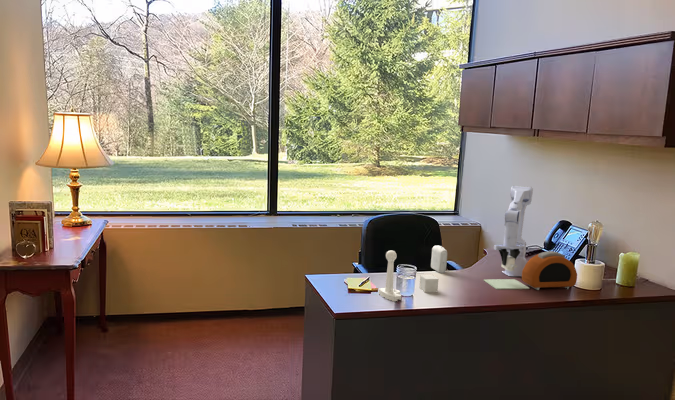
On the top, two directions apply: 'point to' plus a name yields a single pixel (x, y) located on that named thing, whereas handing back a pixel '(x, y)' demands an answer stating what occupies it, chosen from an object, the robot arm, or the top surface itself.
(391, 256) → the joystick
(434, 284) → the white cube
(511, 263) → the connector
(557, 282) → the orange toaster
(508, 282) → the rubber mat
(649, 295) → the top surface
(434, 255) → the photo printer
